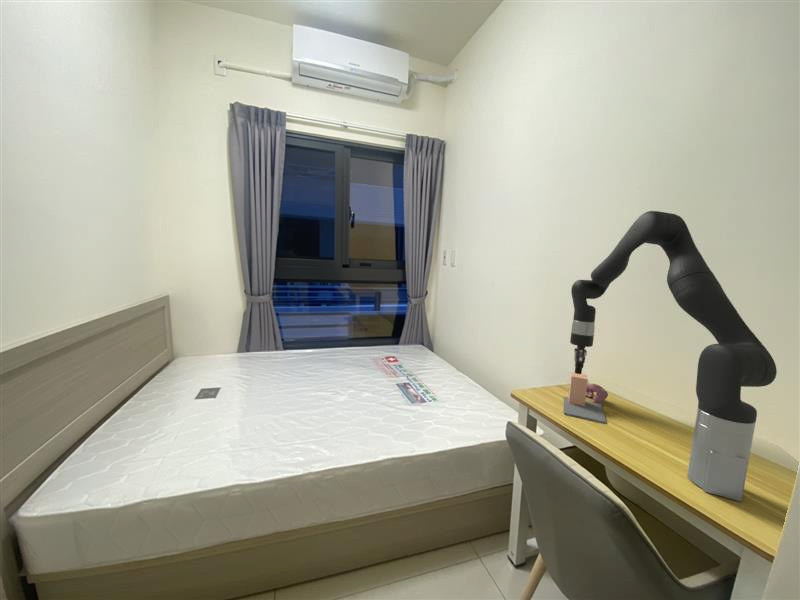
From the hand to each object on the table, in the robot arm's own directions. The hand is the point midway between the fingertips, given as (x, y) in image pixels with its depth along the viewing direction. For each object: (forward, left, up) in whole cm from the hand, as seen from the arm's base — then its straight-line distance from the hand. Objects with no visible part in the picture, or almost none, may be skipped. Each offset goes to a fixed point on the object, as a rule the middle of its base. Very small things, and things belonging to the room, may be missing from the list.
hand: (577, 376), depth 123 cm
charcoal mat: (-12, -2, -8) cm, 15 cm away
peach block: (-8, 0, -7) cm, 11 cm away
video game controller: (+1, -5, -8) cm, 10 cm away
